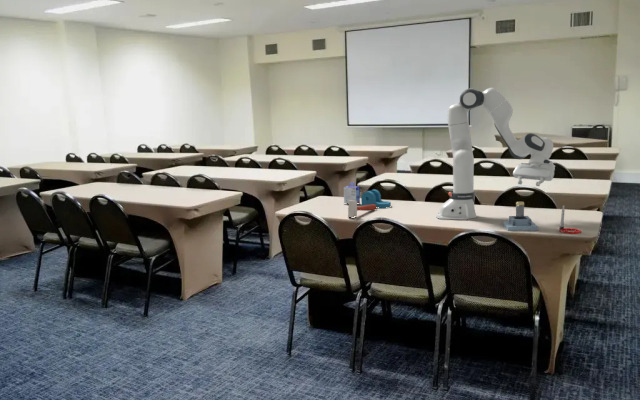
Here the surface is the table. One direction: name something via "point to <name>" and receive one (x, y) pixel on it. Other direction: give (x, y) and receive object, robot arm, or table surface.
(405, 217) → the table surface
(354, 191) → the ink cartridge box
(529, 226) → the block
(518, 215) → the key rod
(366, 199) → the camera mount
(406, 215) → the table surface
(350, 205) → the mallet
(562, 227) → the tow hook
